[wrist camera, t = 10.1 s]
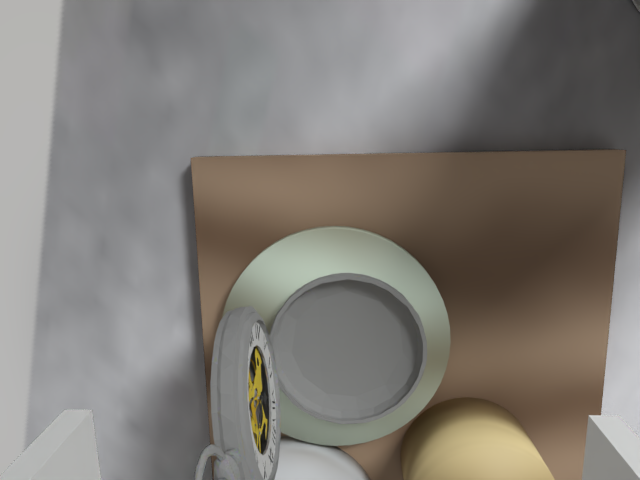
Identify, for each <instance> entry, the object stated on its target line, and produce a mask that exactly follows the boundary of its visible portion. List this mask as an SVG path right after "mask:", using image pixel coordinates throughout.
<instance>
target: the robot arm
mask: <svg viewBox="0 0 640 480" xmlns="http://www.w3.org/2000/svg"><path fill="white" fill-rule="evenodd" d="M0 480H101V474H100V466H99V458H98V451H97V443H96V436H95V428H94V420H93V413H92V410H67V409H65V410H64V411H63V412H62V413H61V414H60V415H59V416H58V417H57V418H56V419H55V420H54V421H53V422H52V423H51V424H50V425H49V426H48V427H47V428H46V429H45V430H44V431H43V432H42V433H41V434H40V435H39V436H38V437H37V438H36V439H35V440H34V441H33V442H32V443H31V444H30V446H29V447H28V448H27V449H26V450H25V451H24V452H23V453H22V454H21V455H20V456H19V457H18V458H17V459H16V460H15V461H14V462H13V463H12V464H11V465H10V466H9V467H8V468H7V469H6V470H5V471H4V472H3V473H2V474H1V475H0ZM582 480H640V438H639V437H638V436H637V435H636V433H635V432H634V431H633V430H632V429H631V428H630V427H629V426H628V425H627V424H626V422H625V421H624V420H623V419H622V418H621V417H620V416H612V415H589V416H588V426H587V435H586V445H585V454H584V464H583V473H582Z"/></svg>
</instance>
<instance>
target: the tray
mask: <svg viewBox="0 0 640 480" xmlns="http://www.w3.org/2000/svg"><path fill="white" fill-rule="evenodd" d="M625 157H626V150H618V149H601V150H545V151H489V152H434V153H378V154H322V155H266V156H210V157H193V158H191V168H192V183H193V198H194V212H195V227H196V242H197V256H198V271H199V286H200V300H201V315H202V330H203V344H204V359H205V374H206V388H207V403H208V418H209V433H210V445H211V444H214V437H213V428H212V416H211V390H210V380H211V366H212V356H213V348H214V341H215V336H216V332H217V329H218V326H219V323H220V321H221V319H222V318H223V316H224V315H225V314H226V313H227V312H228V311H231V310H234V309H235V308H239V307H248V306H252V307H253V308H254V309H255V310H256V311H257V313H258V314H259V315H260V316H261V317H262V319H263V321H264V323H265V325H266V327H267V330H268V332H269V335H270V331H271V327H272V324H273V322H274V319H275V317H276V314H277V312H278V311H279V310H280V308H281V307H282V306H283V305H284V303H285V302H286V301H287V299H288V298H289V296H291V295H292V294H293V293H294V292H295V291H296V290H297V289H299V288H301V287H302V286H303V285H305V284H307V283H309V282H311V281H313V280H315V279H317V278H319V277H323V276H327V275H331V274H338V273H355V274H363V275H367V276H370V277H373V278H376V279H379V280H381V281H383V282H385V283H387V284H389V285H390V286H392V287H393V288H395V289H397V290H398V291H399V292H400V293H402V294H403V295H404V296H405V298H406V299H407V300H408V302H409V303H410V304H411V305H412V306H413V308H414V309H415V311H416V312H417V313H418V315H419V316H420V319H421V322H422V325H423V328H424V332H425V336H426V340H427V361H426V367H425V370H424V373H423V376H422V378H421V380H420V382H419V384H418V386H417V388H416V390H415V391H414V392H413V393H412V395H411V396H410V397H409V398H408V399H407V401H406V402H405V403H404V404H402V405H401V406H400V407H399V408H397V409H396V410H395V411H394V412H392V413H390V414H388V415H386V416H384V417H382V418H380V419H377V420H374V421H370V422H367V423H358V424H337V423H332V422H329V421H325V420H321V419H317V418H315V417H313V416H311V415H309V414H307V413H305V412H304V411H302V410H301V409H299V408H298V407H297V406H295V405H294V404H293V403H292V402H291V401H290V400H289V399H288V397H287V396H286V395H285V394H284V393H283V392H282V390H281V389H280V388H279V393H280V410H281V438H280V452H279V461H278V467H277V472H276V476H275V479H274V480H582V473H583V464H584V454H585V445H586V435H587V426H588V416H589V415H601V407H602V396H603V386H604V376H605V365H606V355H607V344H608V334H609V323H610V313H611V303H612V292H613V282H614V271H615V261H616V250H617V240H618V230H619V219H620V209H621V198H622V188H623V178H624V167H625ZM214 445H215V444H214ZM216 459H217V457H216V456H215V455H213V456H211V462H212V477H213V480H214V461H215V460H216Z"/></svg>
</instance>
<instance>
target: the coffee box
mask: <svg viewBox="0 0 640 480" xmlns="http://www.w3.org/2000/svg"><path fill="white" fill-rule="evenodd" d="M632 2H633V3H634V4H635V6H636V7H637V9H638V10H639V12H640V0H632Z"/></svg>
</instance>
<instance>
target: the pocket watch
mask: <svg viewBox="0 0 640 480" xmlns="http://www.w3.org/2000/svg"><path fill="white" fill-rule="evenodd" d="M426 361H427V340H426V336H425V332H424V328H423V325H422V322H421V319H420V316H419V315H418V313H417V312H416V311H415V309H414V308H413V306H412V305H411V304H410V303H409V302H408V300H407V299H406V298H405V296H404V295H403V294H402V293H400V292H399V291H398V290H397V289H395V288H393V287H392V286H390V285H389V284H387V283H385V282H383V281H381V280H379V279H376V278H373V277H370V276H367V275H363V274H355V273H338V274H331V275H327V276H323V277H319V278H317V279H315V280H313V281H311V282H309V283H307V284H305V285H303V286H302V287H301V288H299V289H297V290H296V291H295V292H294V293H293V294H292V295H291V296H289V298H288V299H287V301H286V302H285V303H284V305H283V306H282V307H281V308H280V310H279V311H278V312H277V314H276V317H275V319H274V322H273V324H272V327H271V331H270V335H269V332H268V330H267V327H266V325H265V323H264V321H263V319H262V317H261V316H260V315H259V314H258V313H257V311H256V310H255V309H254V308H253V307H252V306H248V307H239V308H235V309H234V310H231V311H228V312H227V313H226V314H225V315H224V316H223V318H222V319H221V321H220V323H219V326H218V329H217V332H216V336H215V341H214V348H213V356H212V366H211V380H210V390H211V416H212V428H213V437H214V444H215V445H214V444H211V445H209V446H207V447H206V448H205V449H204V450H203V451H202V452H201V454H200V457H199V460H198V463H197V467H196V470H195V474H194V480H202V477H203V473H204V470H205V466H206V462H207V458H209V457H210V456H213V455H215V456H216V457H217V459H216V460H215V461H214V480H274V479H275V476H276V472H277V467H278V461H279V452H280V438H281V410H280V393H279V388H280V389H281V390H282V392H283V393H284V394H285V395H286V396H287V397H288V399H289V400H290V401H291V402H292V403H293V404H294V405H295V406H297V407H298V408H299V409H301V410H302V411H304V412H305V413H307V414H309V415H311V416H313V417H315V418H317V419H321V420H325V421H329V422H332V423H337V424H358V423H367V422H370V421H374V420H377V419H380V418H382V417H384V416H386V415H388V414H390V413H392V412H394V411H395V410H396V409H397V408H399V407H400V406H401V405H402V404H404V403H405V402H406V401H407V399H408V398H409V397H410V396H411V395H412V393H413V392H414V391H415V390H416V388H417V386H418V384H419V382H420V380H421V378H422V376H423V373H424V370H425V367H426Z"/></svg>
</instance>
